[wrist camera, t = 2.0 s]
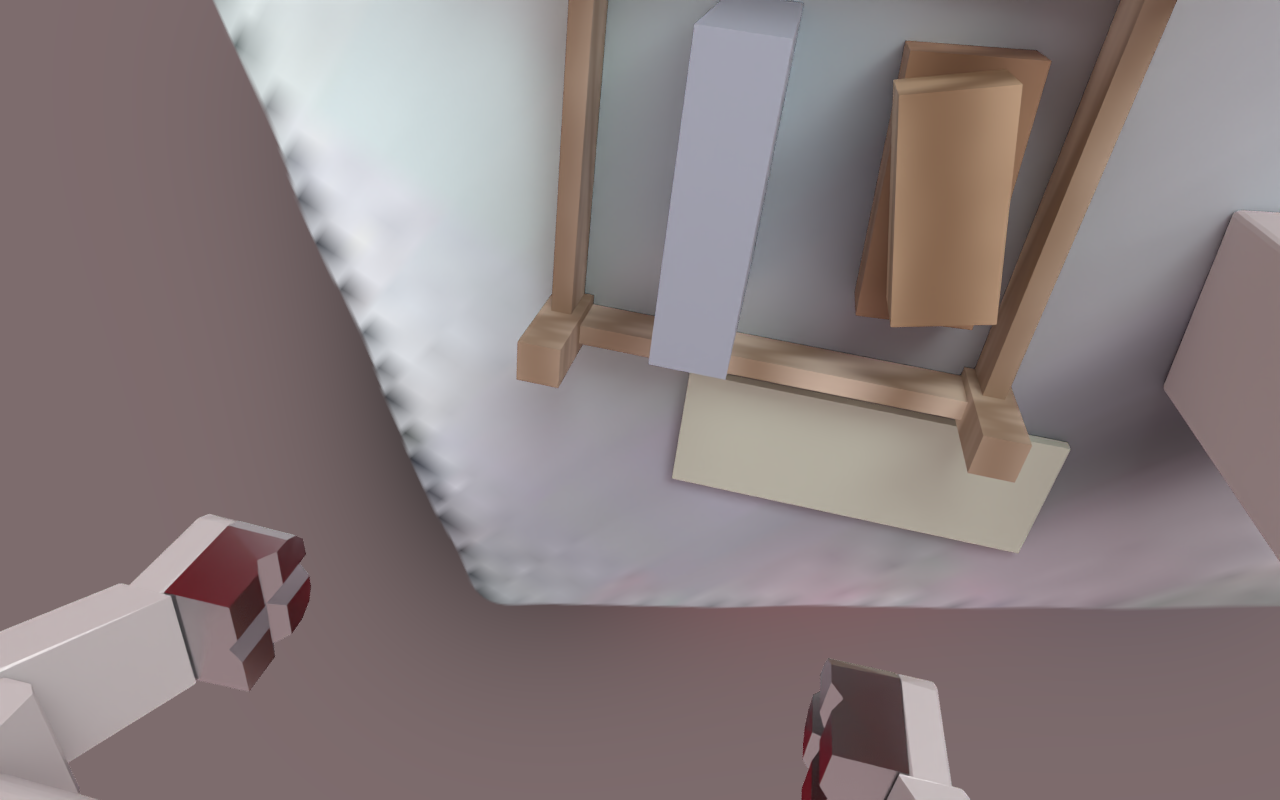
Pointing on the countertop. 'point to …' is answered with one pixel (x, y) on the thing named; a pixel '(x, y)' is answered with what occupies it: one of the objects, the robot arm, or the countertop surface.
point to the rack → (970, 399)
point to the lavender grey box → (721, 179)
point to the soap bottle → (1238, 367)
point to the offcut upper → (950, 196)
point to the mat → (855, 461)
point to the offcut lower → (914, 63)
